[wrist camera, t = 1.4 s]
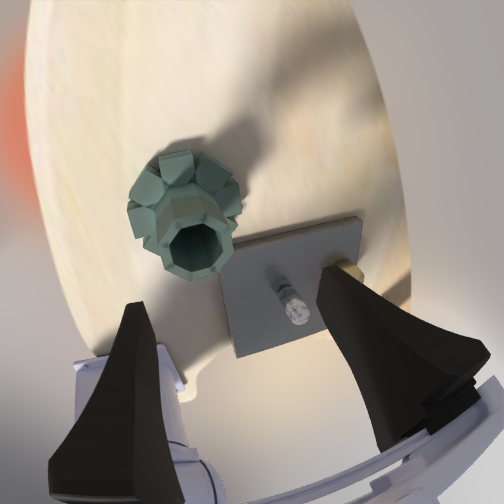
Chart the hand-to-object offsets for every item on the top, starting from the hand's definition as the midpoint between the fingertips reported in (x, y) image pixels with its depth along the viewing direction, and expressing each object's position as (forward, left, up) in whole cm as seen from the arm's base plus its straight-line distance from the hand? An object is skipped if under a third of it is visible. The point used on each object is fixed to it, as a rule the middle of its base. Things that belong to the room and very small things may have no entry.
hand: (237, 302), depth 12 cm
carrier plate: (+7, -10, -10) cm, 15 cm away
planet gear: (-1, 0, -10) cm, 10 cm away
